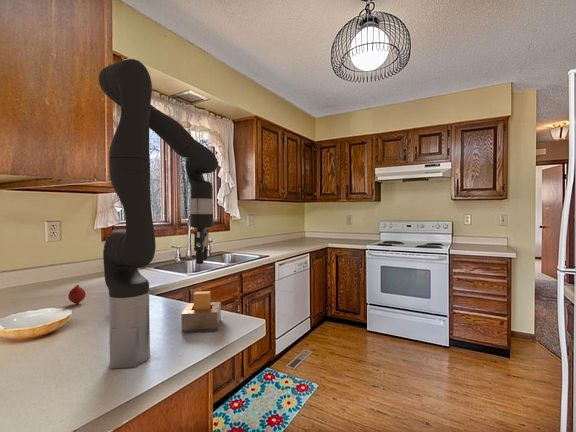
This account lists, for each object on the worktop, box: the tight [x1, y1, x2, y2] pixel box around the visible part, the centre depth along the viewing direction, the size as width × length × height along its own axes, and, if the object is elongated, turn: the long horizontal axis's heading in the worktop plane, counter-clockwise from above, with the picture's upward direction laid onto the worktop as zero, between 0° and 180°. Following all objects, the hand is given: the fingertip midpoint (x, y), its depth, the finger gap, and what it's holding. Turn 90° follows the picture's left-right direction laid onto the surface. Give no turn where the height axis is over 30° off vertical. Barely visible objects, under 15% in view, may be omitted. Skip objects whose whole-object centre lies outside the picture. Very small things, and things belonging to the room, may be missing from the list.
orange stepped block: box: [193, 290, 211, 310], centre depth 102 cm, size 3×5×10 cm, turn 97°
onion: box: [67, 284, 87, 305], centre depth 126 cm, size 6×6×8 cm
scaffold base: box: [181, 301, 222, 334], centre depth 102 cm, size 11×11×6 cm
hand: (201, 261), depth 101 cm, fingers open, 8 cm apart
